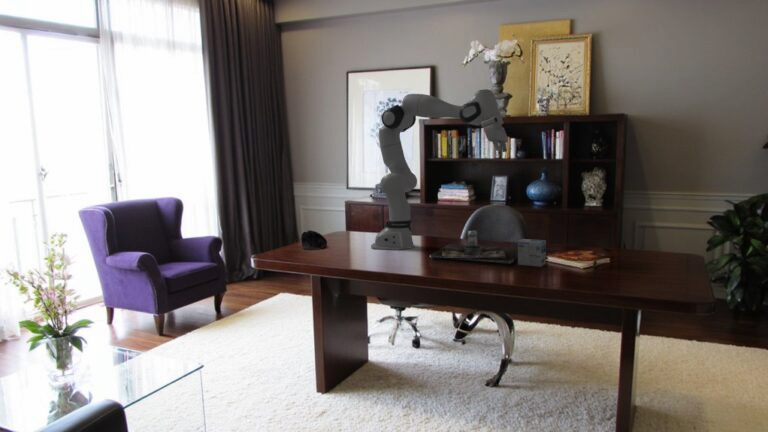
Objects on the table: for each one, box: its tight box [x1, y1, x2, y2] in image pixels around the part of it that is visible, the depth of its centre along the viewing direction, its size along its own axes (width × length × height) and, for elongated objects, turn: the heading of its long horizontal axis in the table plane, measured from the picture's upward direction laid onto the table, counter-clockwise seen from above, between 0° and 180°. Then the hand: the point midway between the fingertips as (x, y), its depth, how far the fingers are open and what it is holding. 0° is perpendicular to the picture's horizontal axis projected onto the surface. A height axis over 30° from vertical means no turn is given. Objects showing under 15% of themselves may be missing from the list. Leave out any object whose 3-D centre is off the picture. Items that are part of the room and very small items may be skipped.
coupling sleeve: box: [467, 229, 478, 245], centre depth 276 cm, size 5×5×10 cm
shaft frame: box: [441, 244, 506, 257], centre depth 263 cm, size 29×10×5 cm, turn 82°
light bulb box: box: [517, 238, 547, 268], centre depth 244 cm, size 11×7×11 cm, turn 58°
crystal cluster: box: [300, 229, 328, 251], centre depth 296 cm, size 13×14×10 cm
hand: (501, 151), depth 255 cm, fingers open, 8 cm apart
